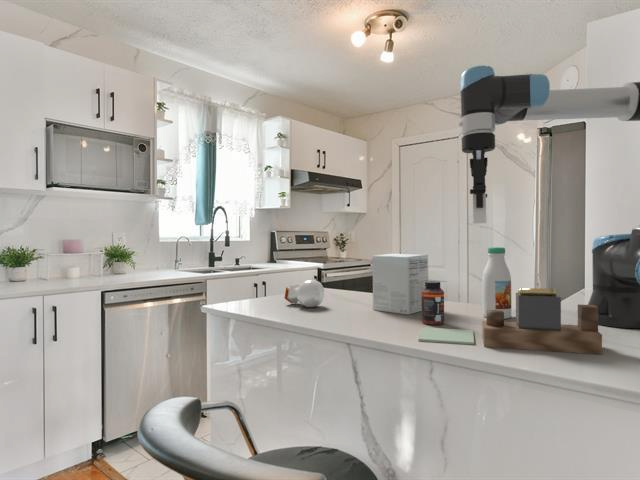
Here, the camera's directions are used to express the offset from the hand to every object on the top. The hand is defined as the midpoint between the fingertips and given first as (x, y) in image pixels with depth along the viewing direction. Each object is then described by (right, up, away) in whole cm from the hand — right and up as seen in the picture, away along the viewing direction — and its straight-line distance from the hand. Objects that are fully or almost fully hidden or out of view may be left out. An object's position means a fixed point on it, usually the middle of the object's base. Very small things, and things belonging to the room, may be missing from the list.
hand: (479, 223), depth 103 cm
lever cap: (+9, -23, -10) cm, 27 cm away
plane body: (+9, -27, -10) cm, 30 cm away
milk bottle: (+12, -26, +20) cm, 35 cm away
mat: (-8, -27, -1) cm, 28 cm away
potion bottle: (-44, -27, +42) cm, 66 cm away
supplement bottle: (-8, -27, +13) cm, 31 cm away
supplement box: (-13, -26, +34) cm, 45 cm away
